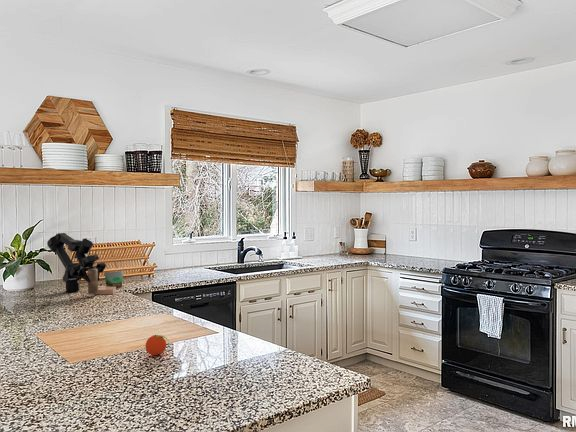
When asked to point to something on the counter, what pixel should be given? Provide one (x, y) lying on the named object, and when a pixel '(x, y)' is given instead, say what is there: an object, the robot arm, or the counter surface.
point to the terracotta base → (106, 290)
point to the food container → (114, 279)
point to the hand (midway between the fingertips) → (94, 281)
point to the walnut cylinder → (93, 281)
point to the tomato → (156, 344)
